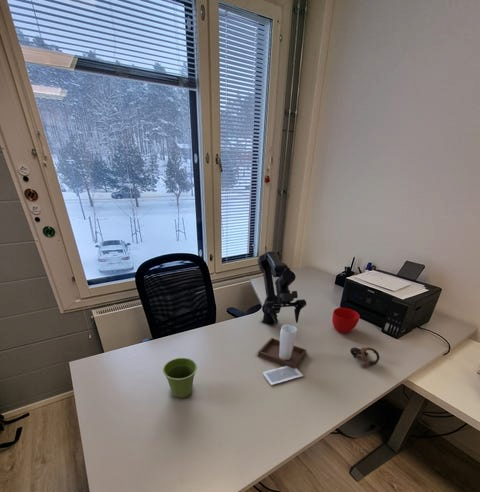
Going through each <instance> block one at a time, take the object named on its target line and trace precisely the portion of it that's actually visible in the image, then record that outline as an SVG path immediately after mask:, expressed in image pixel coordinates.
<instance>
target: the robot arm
mask: <svg viewBox="0 0 480 492" xmlns="http://www.w3.org/2000/svg"><path fill="white" fill-rule="evenodd" d="M257 266H258V268H259V270H260V272H262V275H263V281H264V282H263V283H264V290H265V295H266V297H265V299H264V302H263V305H262V306H261V311H262V313H263V319H262V320H261V323H263V324H266V325H269V326H273V325H278V315H277V314H280V312H281V308H292V307H294V309H293V310H294V319H295V323H296V324H298V322H299V317H300V313H301V311H302V309H304V308H305V307H306V306H307V305H308V304H307V300H305V298H303V299H302V298H301V299H298V297H299V296H298V291H297V290H292V291H291V290H290V288H289V287H290V286H291V285H292V283H294V282H295V280H296V277H297V275H296V274H295V272H293V271H292V270H291V268H290V267H289V266H288V264H287V263H285V262H281V261H280V259H279V258H278V257H277V255H276V252H275V251H265V252H264V253H263V254H261V255H259V257H258V258H257ZM273 278H276V280H275V281H274V280H273ZM274 284H275V285H274ZM275 291H276V292H275ZM295 299H297V300H295ZM294 300H295V301H294Z"/></svg>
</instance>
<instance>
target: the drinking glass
mask: <svg viewBox="0 0 480 492" xmlns="http://www.w3.org/2000/svg"><path fill="white" fill-rule="evenodd" d="M297 333H298V329H297V327H296V326H294V325H292V324H283V325H282V326H281V327H280V333H279V340H280V350H279V357H280V358H281V359H282V360H289V359H290V358H291V354H292V350H293V347H294V346H295V344H296V339H297V335H298V334H297Z"/></svg>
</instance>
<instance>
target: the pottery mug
mask: <svg viewBox="0 0 480 492" xmlns="http://www.w3.org/2000/svg"><path fill="white" fill-rule="evenodd" d="M367 351H372V352H373V353H374V354H375V355H376V359H375V360H369V361H368V358H367V357H368V356H369V355H370V353H369V352H367ZM349 352H350V355H352V357H353V358H354V359H356V358H357V356H360V358H361V360H362V362H363V364H362V367H363V368H365V369H367V368H371V367H375V366H377V364H378V363H379V362H380V361H379V360H380V354H379V352H378V351H377V349H375V348H373V347H361V348H358V347H355V346H354V347H351V348H350V350H349Z"/></svg>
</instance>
